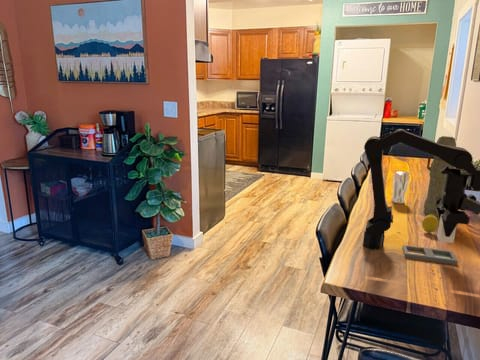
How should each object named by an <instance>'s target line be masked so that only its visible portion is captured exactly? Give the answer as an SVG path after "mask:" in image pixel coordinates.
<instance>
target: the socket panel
mask: <svg viewBox="0 0 480 360" xmlns="http://www.w3.org/2000/svg"><path fill="white" fill-rule="evenodd" d="M401 249H402V252H403V253H402V254H403V256H404V258H407V259H413V260H419V261H426V262H434V263H441V264H446V265H455V266H457V265H458V262H459V260H458V259H457V257H456V255H455V254H454V252H453V251H452V250H445V249H444V250H443V249H437V248H432V247H431V248H430V247H421V246H415V245H407V244H402V247H401Z"/></svg>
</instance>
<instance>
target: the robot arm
mask: <svg viewBox="0 0 480 360" xmlns="http://www.w3.org/2000/svg"><path fill="white" fill-rule="evenodd" d="M398 144H403V145H405V146H409V147H411V148H414V149H416V150H419V151H422V152H424V153H426V154H428V155H429V154H431V156H432V155H433V156H437V157H439V158H440V159H442V160H443V161H445V162H446V163H448V164H450V165H452V166H453V167H454V169H453V168H449V167H448V165H446V166H445V167H444V168H442V169H440V172H441V173H442V174H446V180H445V185H444V188H442V192H443V196H437V197H436V198H435V199H434V205H435V206H437V205H438V204H439V208H436V210H437V213H438V217H439V218H438V217H437V218H438V221H440V216H441V214H444V216H441V218H442V222H443V227H444V232H445V236H446V237H450V235H451V234H452V232H453V230H454V228H455V227H456V225H458V224H460V225H461V224H462V225H469V224H470V221H471V218H470V217H469V215H468V214H467V213H466V212H465V211H466V210H467V211H469V212H471V213H474V214H475V215H478V216H479V215H480V201H479V200H477V197H476V195H473V194H471V193H470V194H468V195H467V193H466V189H467V186H468V187H469V188H471V191H472V192H473V191H475V192H480V169H478V168H477V167H476V166H475V165H474V164H473V161H474V158H473V156H472V153H471V152H469V151H468V150H467V149H466V148H464V147H459V146H456V147H455V146H449V145H443V144H439V143H437V141H434V140H431V139H427V138H425V137H422V136H419V135H417V134H416V133H415V134H414V133H412V132H409V131H406V130H405V129H403V128H398V129H396V130H395V131H392V132H389V133H386V134H384V135H380V136H376V135H375V136H374V135H373V136H370V137H369V138H368V139H367V140H366V142H365V143H364V145H363V146H364V147H363V149H364V153H365V156H366V159H367V162H368V163H369V164H368V165H369V167H370V176H371V178H370V179H371V186H372V194H373V195H372V196H373V202H374V206H373V216H372V217H371V218H370V219H368V220H367V221H366V226H365V230H364V231H363V241H362V242H363V243H362V246H363V247H365V248H366V249H369V250H381V248H382V247H383V246H384V245H385V244H384V242H385V232H386V231H387V232H388V230H390V228H391V225H392V224H393V223H394V215H393V212H392V211H393V206H392V205H391V206H388V204H387V198H386V192H385V191H386V190H385V181H384V171H383V155H384V150H387V149H389V148H391V147H394V146H395V145H398ZM456 168H457V169H456ZM462 170H464V171H465V172H464V171H462ZM456 228H457V227H456Z"/></svg>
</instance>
